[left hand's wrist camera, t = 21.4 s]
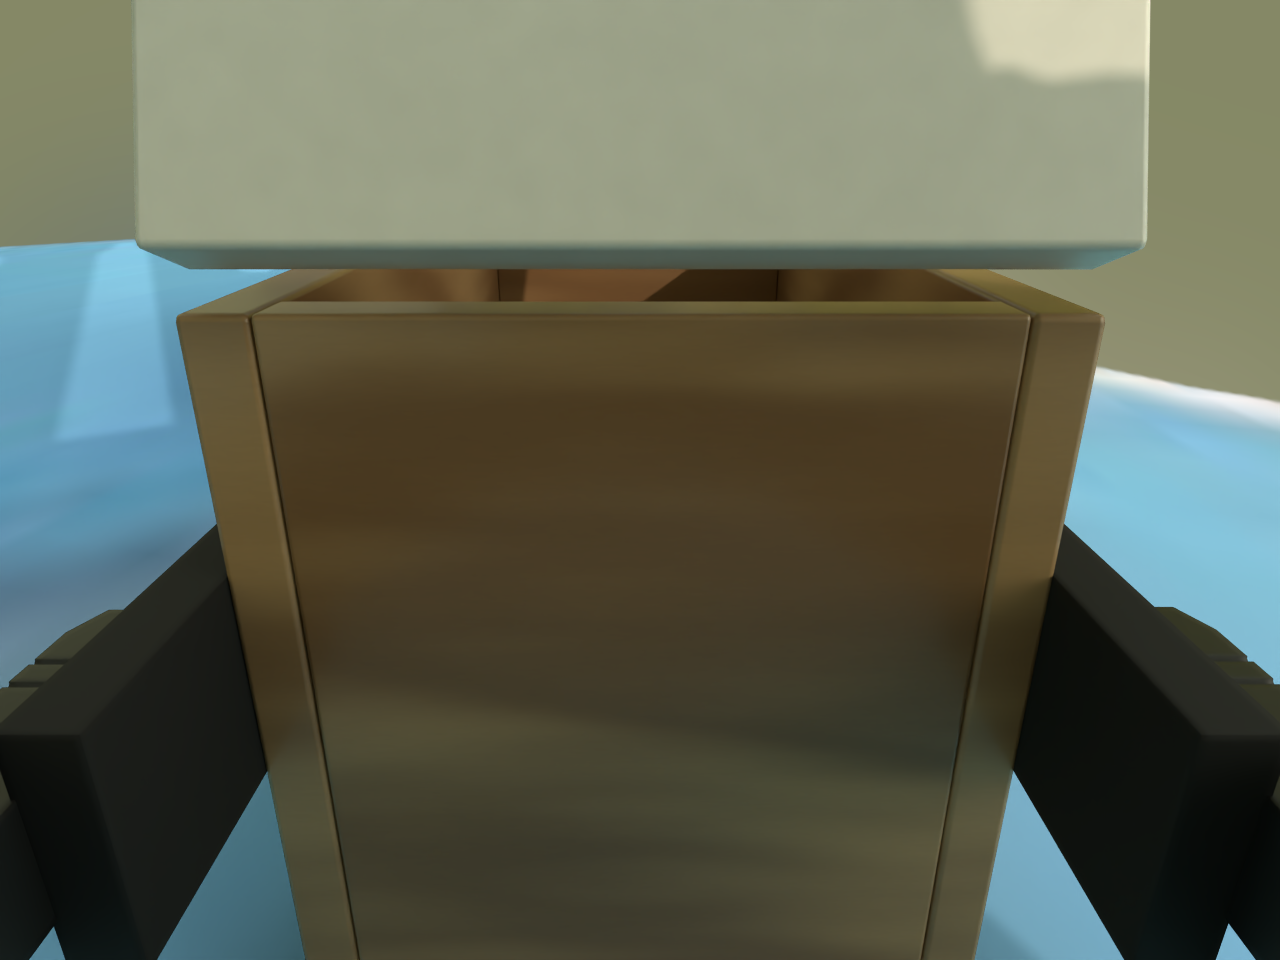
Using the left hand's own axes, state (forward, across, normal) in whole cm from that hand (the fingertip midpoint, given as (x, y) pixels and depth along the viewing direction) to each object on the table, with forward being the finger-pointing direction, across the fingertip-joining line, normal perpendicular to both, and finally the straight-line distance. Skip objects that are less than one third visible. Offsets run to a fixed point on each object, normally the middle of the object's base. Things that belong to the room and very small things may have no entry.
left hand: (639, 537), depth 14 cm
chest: (+4, 0, -6) cm, 8 cm away
